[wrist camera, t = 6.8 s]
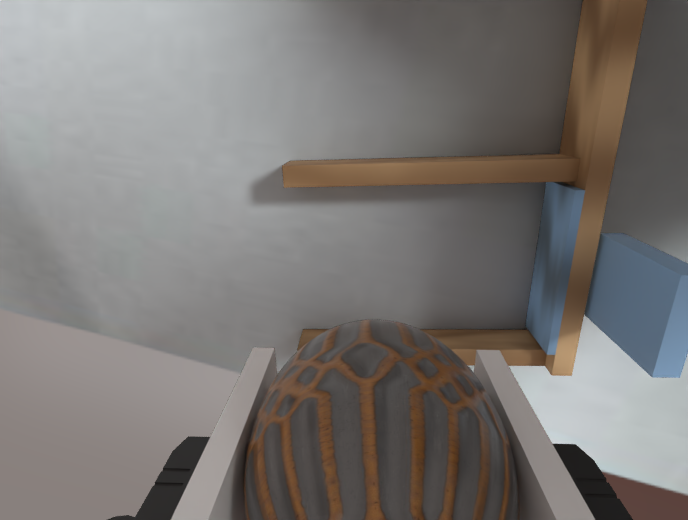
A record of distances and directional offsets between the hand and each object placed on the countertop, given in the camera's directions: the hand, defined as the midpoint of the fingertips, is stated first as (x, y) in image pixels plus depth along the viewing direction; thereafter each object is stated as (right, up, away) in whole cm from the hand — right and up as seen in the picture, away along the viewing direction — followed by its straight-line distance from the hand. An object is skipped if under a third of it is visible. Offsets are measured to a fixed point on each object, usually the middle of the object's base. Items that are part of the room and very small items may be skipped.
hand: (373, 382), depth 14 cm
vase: (0, 0, 0) cm, 0 cm away
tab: (+14, +3, +9) cm, 17 cm away
